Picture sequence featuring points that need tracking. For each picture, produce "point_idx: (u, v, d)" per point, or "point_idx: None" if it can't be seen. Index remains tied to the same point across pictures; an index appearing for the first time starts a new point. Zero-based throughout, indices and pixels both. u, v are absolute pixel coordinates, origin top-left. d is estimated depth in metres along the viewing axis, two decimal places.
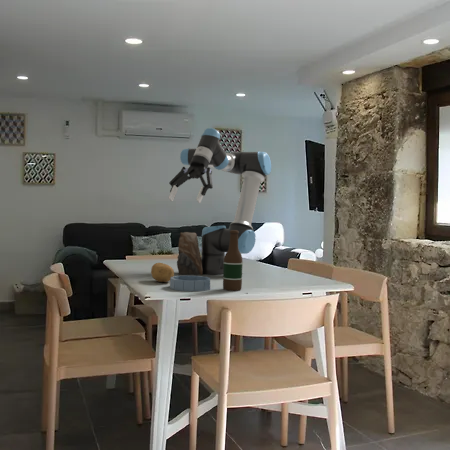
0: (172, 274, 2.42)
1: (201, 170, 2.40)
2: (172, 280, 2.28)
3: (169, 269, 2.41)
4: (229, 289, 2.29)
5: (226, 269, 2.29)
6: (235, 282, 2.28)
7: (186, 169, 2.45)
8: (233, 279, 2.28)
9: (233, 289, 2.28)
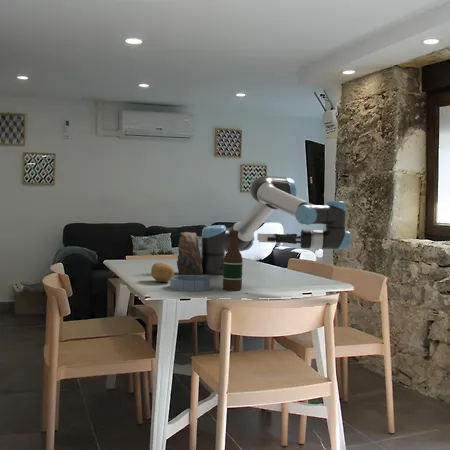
0: (172, 274, 2.42)
1: None
2: (172, 280, 2.28)
3: (169, 269, 2.41)
4: (229, 289, 2.29)
5: (226, 269, 2.29)
6: (235, 282, 2.28)
7: None
8: (233, 279, 2.28)
9: (233, 289, 2.28)
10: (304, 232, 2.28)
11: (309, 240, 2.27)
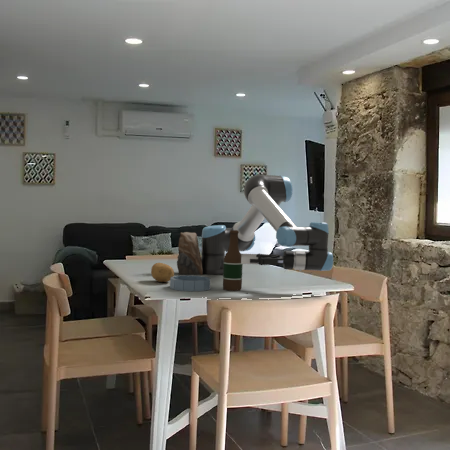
0: (172, 274, 2.42)
1: None
2: (172, 280, 2.28)
3: (169, 269, 2.41)
4: (229, 289, 2.29)
5: (226, 269, 2.29)
6: (235, 282, 2.28)
7: None
8: (233, 279, 2.28)
9: (233, 289, 2.28)
10: (287, 253, 2.28)
11: (292, 261, 2.27)
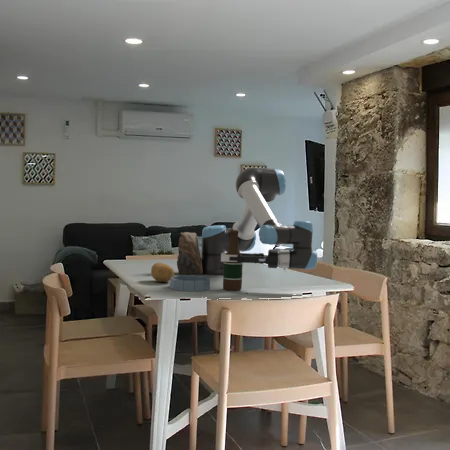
0: (172, 274, 2.42)
1: None
2: (172, 280, 2.28)
3: (169, 269, 2.41)
4: (229, 289, 2.29)
5: (226, 269, 2.29)
6: (235, 281, 2.28)
7: None
8: (233, 279, 2.28)
9: (233, 289, 2.28)
10: (271, 252, 2.29)
11: (276, 260, 2.27)
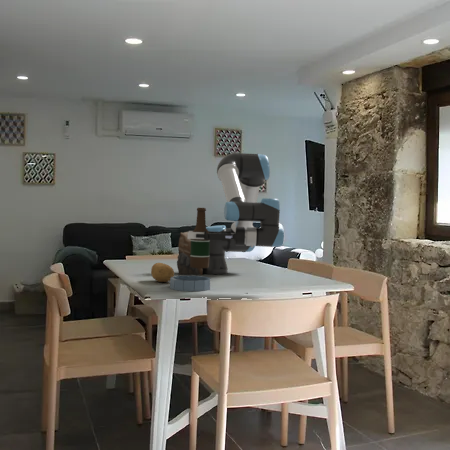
0: (172, 274, 2.42)
1: None
2: (172, 280, 2.28)
3: (169, 269, 2.41)
4: (196, 266, 2.28)
5: (193, 246, 2.28)
6: (202, 259, 2.27)
7: None
8: (200, 256, 2.27)
9: (200, 266, 2.27)
10: (238, 229, 2.28)
11: (243, 237, 2.27)
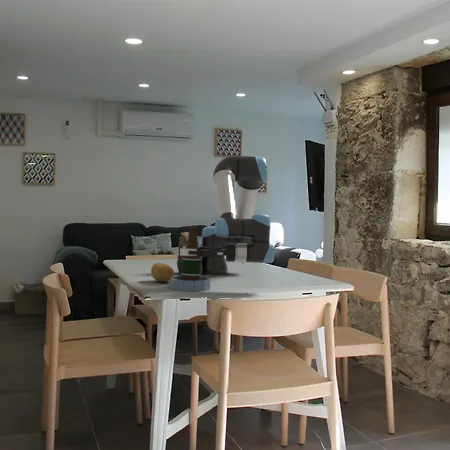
0: (172, 274, 2.42)
1: None
2: (172, 280, 2.28)
3: (169, 269, 2.41)
4: None
5: (184, 264, 2.29)
6: (192, 277, 2.28)
7: None
8: (191, 275, 2.28)
9: None
10: (228, 246, 2.29)
11: (233, 253, 2.28)
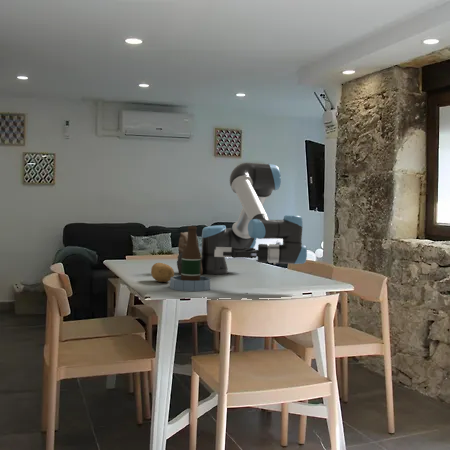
0: (172, 274, 2.42)
1: None
2: (172, 280, 2.28)
3: (169, 269, 2.41)
4: None
5: (184, 265, 2.29)
6: (192, 277, 2.28)
7: None
8: (191, 275, 2.28)
9: None
10: (260, 246, 2.28)
11: (265, 254, 2.27)
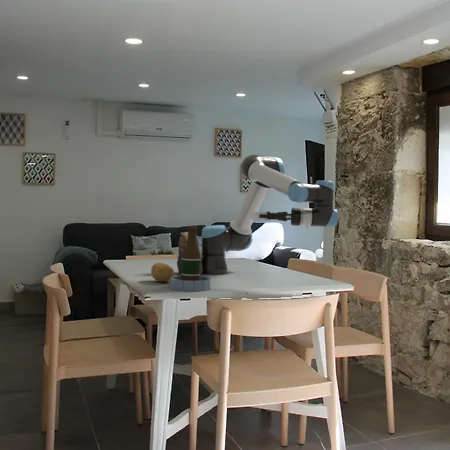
0: (172, 274, 2.42)
1: None
2: (172, 280, 2.28)
3: (169, 269, 2.41)
4: None
5: (184, 265, 2.29)
6: (192, 277, 2.28)
7: None
8: (191, 275, 2.28)
9: None
10: (294, 210, 2.41)
11: (299, 217, 2.40)
